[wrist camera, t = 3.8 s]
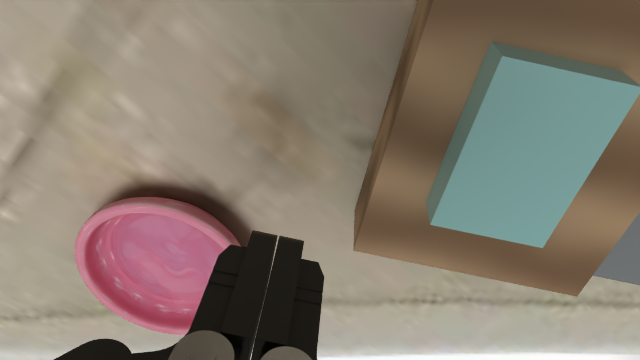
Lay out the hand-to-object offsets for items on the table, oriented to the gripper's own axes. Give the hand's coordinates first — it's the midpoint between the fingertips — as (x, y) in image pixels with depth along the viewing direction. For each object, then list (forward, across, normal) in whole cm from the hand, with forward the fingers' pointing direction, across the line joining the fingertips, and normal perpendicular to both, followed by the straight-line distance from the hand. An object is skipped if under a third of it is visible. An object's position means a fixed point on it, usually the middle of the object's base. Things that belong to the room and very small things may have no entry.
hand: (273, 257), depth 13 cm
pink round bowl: (+16, +8, +16) cm, 23 cm away
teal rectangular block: (+11, -10, 0) cm, 15 cm away
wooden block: (+15, -11, 0) cm, 19 cm away
